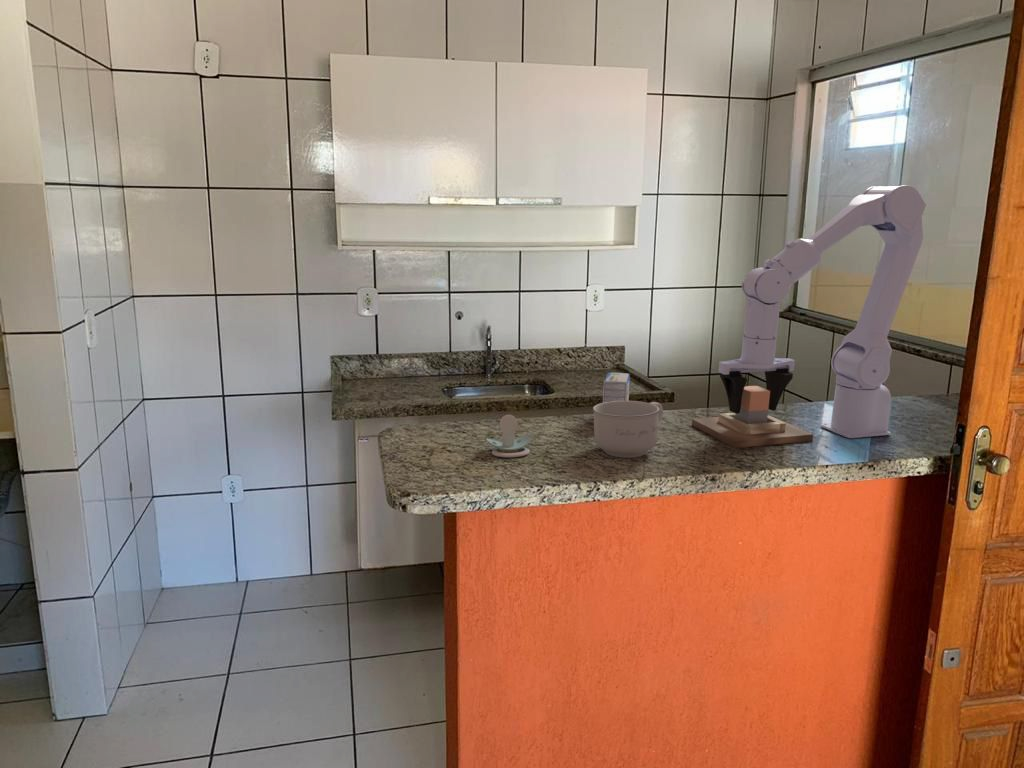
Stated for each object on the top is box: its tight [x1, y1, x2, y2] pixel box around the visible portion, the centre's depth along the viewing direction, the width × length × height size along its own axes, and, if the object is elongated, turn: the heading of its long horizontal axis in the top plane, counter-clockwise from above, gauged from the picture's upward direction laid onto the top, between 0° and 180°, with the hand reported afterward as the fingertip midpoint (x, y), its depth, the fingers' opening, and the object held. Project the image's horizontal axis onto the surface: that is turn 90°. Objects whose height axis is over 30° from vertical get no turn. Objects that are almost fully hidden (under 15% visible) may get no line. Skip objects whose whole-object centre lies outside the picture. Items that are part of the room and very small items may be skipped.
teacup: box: [592, 400, 664, 459], centre depth 127 cm, size 14×11×8 cm
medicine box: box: [602, 372, 631, 403], centre depth 144 cm, size 8×4×9 cm, turn 168°
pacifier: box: [486, 414, 531, 458], centre depth 125 cm, size 7×6×6 cm
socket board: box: [691, 412, 814, 449], centre depth 139 cm, size 16×14×3 cm
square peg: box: [735, 385, 770, 424], centre depth 138 cm, size 4×4×7 cm
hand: (752, 410), depth 138 cm, fingers open, 7 cm apart
